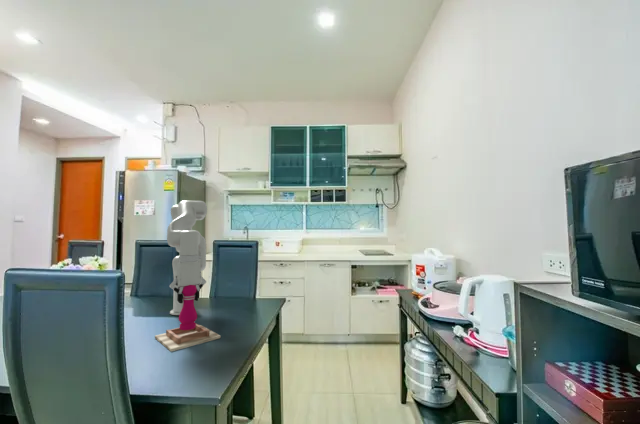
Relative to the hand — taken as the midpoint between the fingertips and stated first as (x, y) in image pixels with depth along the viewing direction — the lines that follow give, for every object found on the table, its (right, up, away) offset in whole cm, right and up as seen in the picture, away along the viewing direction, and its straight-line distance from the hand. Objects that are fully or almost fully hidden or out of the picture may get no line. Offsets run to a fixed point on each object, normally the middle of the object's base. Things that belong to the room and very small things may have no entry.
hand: (188, 301), depth 130 cm
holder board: (0, -16, -1) cm, 16 cm away
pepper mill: (0, -11, -2) cm, 11 cm away
